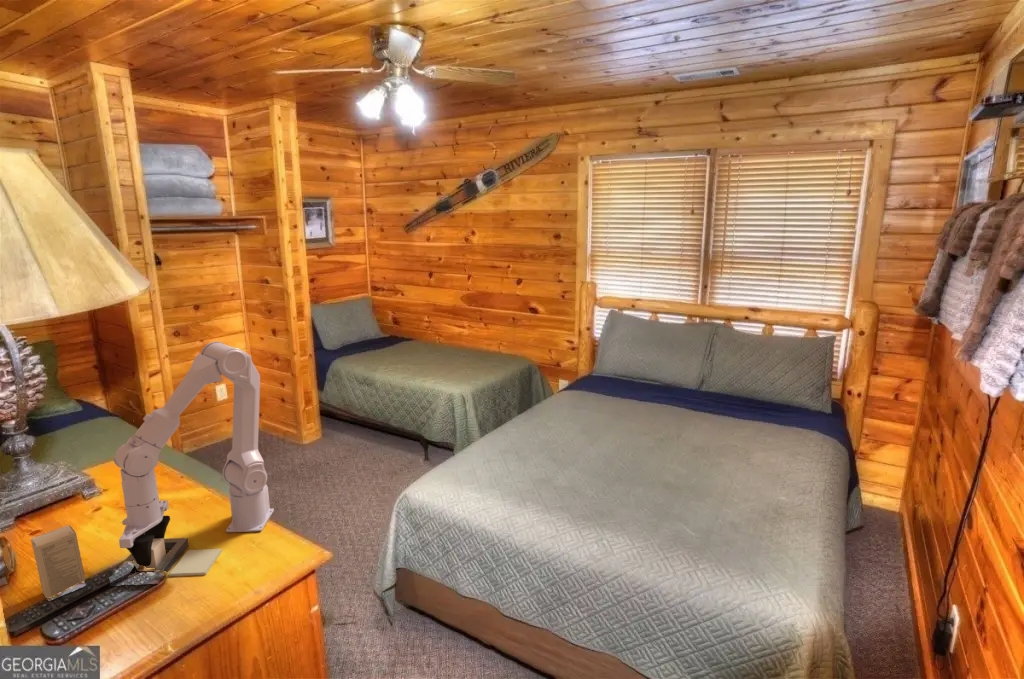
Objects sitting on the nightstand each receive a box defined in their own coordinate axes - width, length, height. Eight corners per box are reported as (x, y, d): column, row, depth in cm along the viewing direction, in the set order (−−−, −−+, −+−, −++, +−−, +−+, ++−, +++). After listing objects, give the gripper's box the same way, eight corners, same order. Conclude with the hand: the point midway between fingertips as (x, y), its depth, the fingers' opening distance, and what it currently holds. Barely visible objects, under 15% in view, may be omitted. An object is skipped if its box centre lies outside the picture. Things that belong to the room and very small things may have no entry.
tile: (188, 552, 120) (187, 550, 120) (221, 551, 121) (221, 548, 121) (169, 576, 113) (169, 573, 112) (205, 574, 113) (205, 572, 113)
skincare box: (80, 577, 112) (71, 523, 109) (87, 587, 109) (77, 532, 106) (41, 593, 107) (29, 537, 104) (47, 604, 104) (35, 546, 101)
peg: (146, 559, 118) (143, 538, 116) (166, 559, 118) (163, 538, 117) (136, 571, 114) (132, 550, 113) (156, 571, 114) (153, 549, 113)
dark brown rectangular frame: (145, 547, 122) (144, 539, 121) (188, 545, 123) (187, 537, 122) (109, 586, 109) (108, 577, 109) (158, 584, 110) (156, 575, 110)
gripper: (140, 482, 119) (149, 538, 122) (98, 519, 105) (108, 581, 108) (175, 481, 120) (182, 537, 123) (137, 518, 106) (147, 580, 109)
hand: (150, 558), depth 116 cm, fingers closed on peg, 4 cm apart
